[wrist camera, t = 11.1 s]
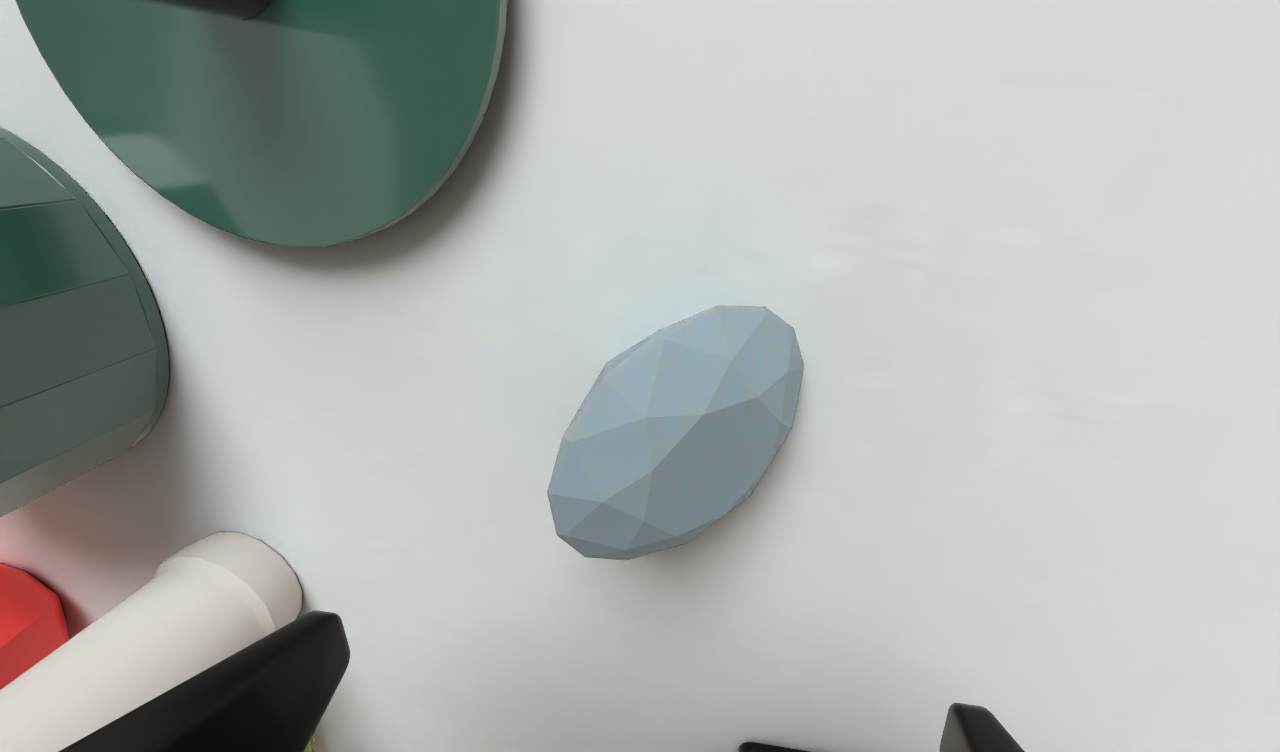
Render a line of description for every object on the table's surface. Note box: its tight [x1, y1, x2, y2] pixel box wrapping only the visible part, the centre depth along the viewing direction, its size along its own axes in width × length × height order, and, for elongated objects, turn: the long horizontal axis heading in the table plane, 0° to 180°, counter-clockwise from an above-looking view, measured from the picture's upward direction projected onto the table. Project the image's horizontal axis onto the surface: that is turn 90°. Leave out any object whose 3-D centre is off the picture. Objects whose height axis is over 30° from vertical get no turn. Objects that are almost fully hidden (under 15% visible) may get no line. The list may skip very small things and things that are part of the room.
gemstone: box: [548, 306, 804, 560], centre depth 16 cm, size 8×8×5 cm
